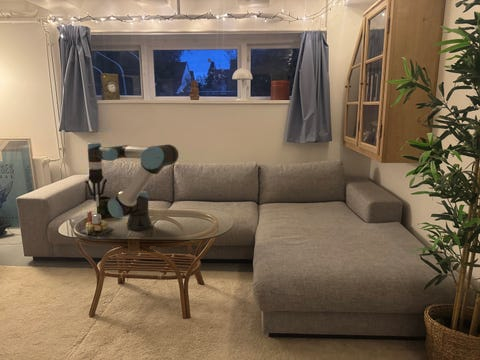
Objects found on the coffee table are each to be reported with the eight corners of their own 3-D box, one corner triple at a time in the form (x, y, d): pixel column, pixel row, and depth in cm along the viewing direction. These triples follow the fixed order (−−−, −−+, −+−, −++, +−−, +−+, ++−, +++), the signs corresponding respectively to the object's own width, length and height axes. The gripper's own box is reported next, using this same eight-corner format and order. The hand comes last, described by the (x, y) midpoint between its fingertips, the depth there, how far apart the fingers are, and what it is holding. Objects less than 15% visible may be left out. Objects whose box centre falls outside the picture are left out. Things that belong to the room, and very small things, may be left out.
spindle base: (113, 229, 227) (112, 213, 225) (95, 237, 213) (94, 220, 211) (96, 226, 231) (96, 211, 229) (78, 233, 218) (77, 217, 216)
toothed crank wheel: (111, 229, 223) (111, 215, 221) (91, 233, 214) (91, 219, 213) (98, 222, 234) (98, 209, 232) (79, 227, 225) (78, 213, 224)
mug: (115, 212, 261) (115, 196, 258) (106, 219, 246) (106, 201, 244) (100, 212, 261) (100, 195, 259) (91, 218, 247) (90, 200, 245)
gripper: (105, 166, 230) (107, 203, 235) (82, 167, 224) (85, 205, 229) (107, 168, 224) (109, 206, 229) (84, 169, 218) (86, 208, 223)
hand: (97, 205), depth 229 cm, fingers closed
